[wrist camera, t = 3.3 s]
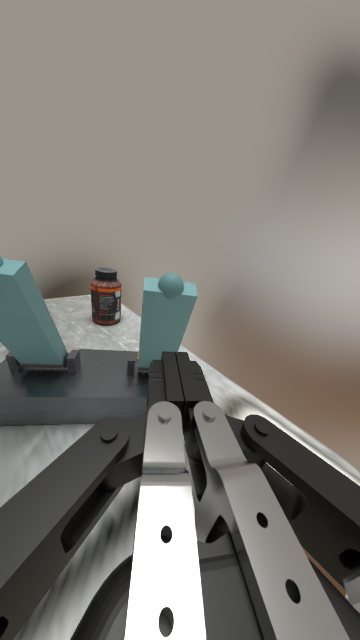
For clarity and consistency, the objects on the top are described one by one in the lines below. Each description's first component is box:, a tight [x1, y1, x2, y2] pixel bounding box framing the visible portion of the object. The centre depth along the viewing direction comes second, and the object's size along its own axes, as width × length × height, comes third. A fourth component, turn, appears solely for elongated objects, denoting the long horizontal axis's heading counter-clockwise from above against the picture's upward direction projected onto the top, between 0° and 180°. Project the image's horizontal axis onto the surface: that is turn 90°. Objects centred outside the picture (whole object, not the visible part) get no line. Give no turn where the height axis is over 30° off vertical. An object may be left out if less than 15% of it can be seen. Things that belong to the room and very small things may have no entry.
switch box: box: [0, 347, 149, 426], centre depth 22 cm, size 22×8×6 cm, turn 98°
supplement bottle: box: [91, 268, 121, 325], centre depth 39 cm, size 6×6×11 cm
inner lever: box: [0, 257, 69, 368], centre depth 16 cm, size 4×2×14 cm, turn 98°
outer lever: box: [138, 273, 197, 371], centre depth 18 cm, size 4×2×14 cm, turn 98°
